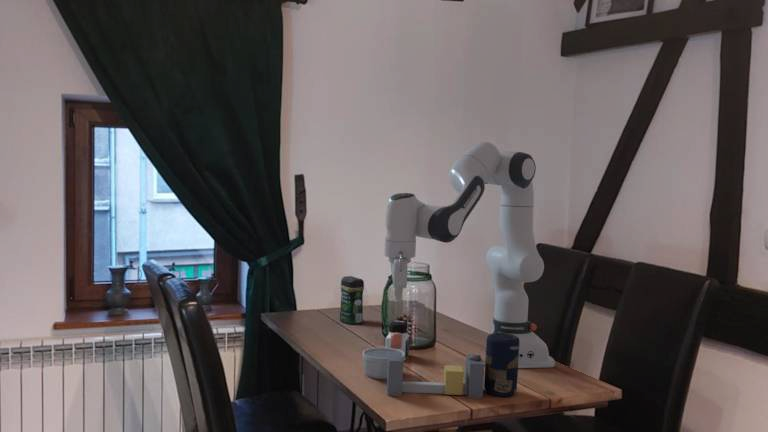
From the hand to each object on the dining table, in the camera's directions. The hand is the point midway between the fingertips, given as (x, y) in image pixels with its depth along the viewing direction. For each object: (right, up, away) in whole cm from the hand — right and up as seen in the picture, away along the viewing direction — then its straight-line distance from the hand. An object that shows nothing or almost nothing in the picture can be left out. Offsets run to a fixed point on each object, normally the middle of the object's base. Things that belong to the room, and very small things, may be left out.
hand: (398, 298), depth 203 cm
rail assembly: (+10, -27, +2) cm, 29 cm away
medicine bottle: (0, -24, +37) cm, 44 cm away
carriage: (+16, -28, +3) cm, 32 cm away
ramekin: (-4, -26, +17) cm, 31 cm away
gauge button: (-1, -14, +1) cm, 14 cm away
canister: (+30, -28, +4) cm, 41 cm away
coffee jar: (-17, -20, +85) cm, 89 cm away
